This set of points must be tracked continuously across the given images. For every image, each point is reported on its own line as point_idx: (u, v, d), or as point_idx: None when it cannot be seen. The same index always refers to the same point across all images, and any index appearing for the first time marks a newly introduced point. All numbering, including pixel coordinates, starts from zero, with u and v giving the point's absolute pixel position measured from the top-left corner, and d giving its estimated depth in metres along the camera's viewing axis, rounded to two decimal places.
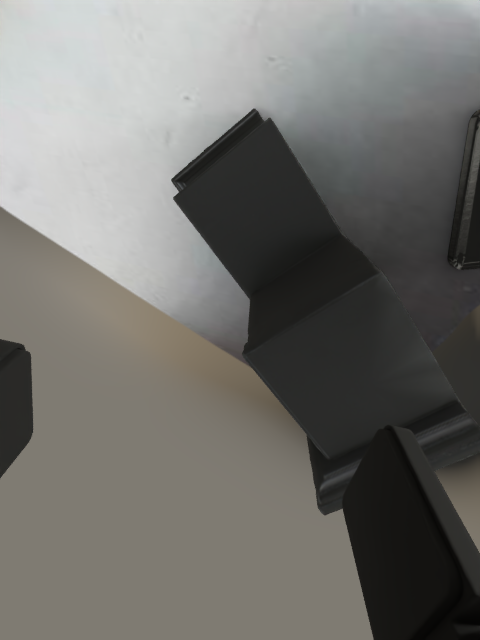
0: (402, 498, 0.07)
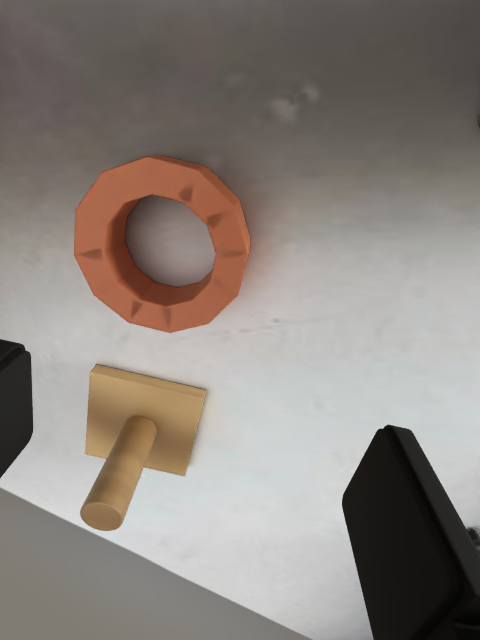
0: (402, 498, 0.07)
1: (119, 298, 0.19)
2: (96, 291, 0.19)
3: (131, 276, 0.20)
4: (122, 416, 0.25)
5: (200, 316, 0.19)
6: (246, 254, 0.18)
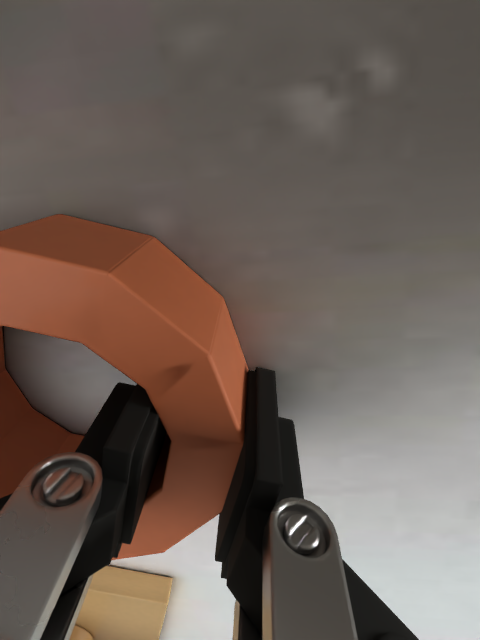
0: None
1: None
2: None
3: (12, 446, 0.10)
4: None
5: (147, 542, 0.09)
6: (240, 444, 0.08)
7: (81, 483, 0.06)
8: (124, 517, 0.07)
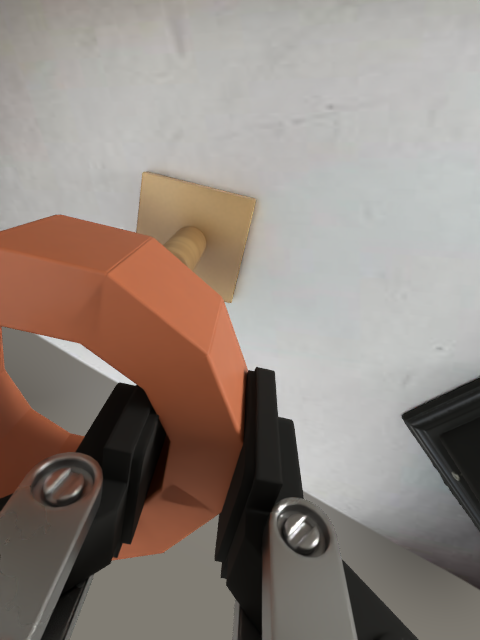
0: None
1: None
2: None
3: (11, 446, 0.10)
4: (172, 228, 0.25)
5: (146, 542, 0.09)
6: (239, 445, 0.08)
7: (82, 483, 0.06)
8: (124, 517, 0.07)
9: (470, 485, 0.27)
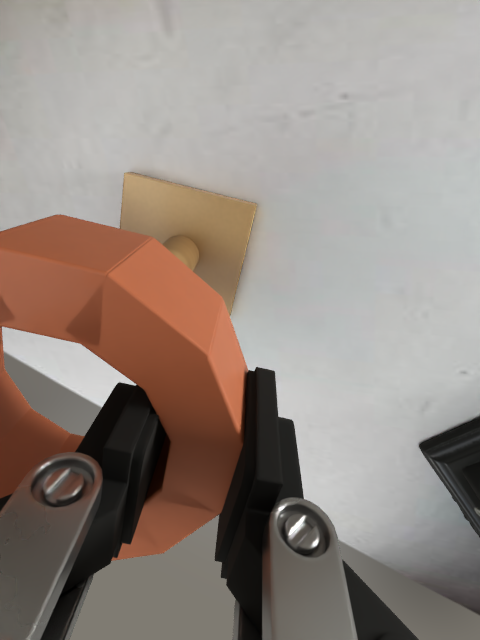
0: None
1: None
2: None
3: (11, 446, 0.10)
4: (159, 238, 0.22)
5: (146, 542, 0.09)
6: (239, 445, 0.08)
7: (82, 483, 0.06)
8: (124, 517, 0.07)
9: None
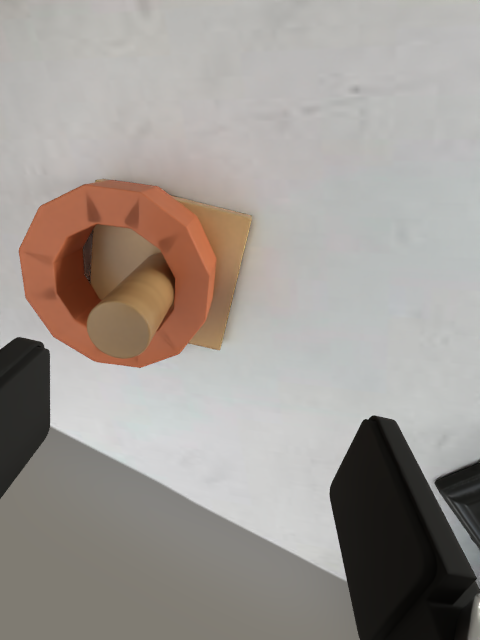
0: (383, 485, 0.08)
1: (80, 337, 0.18)
2: (55, 332, 0.18)
3: None
4: (139, 255, 0.19)
5: (169, 347, 0.18)
6: (207, 276, 0.16)
7: None
8: None
9: None
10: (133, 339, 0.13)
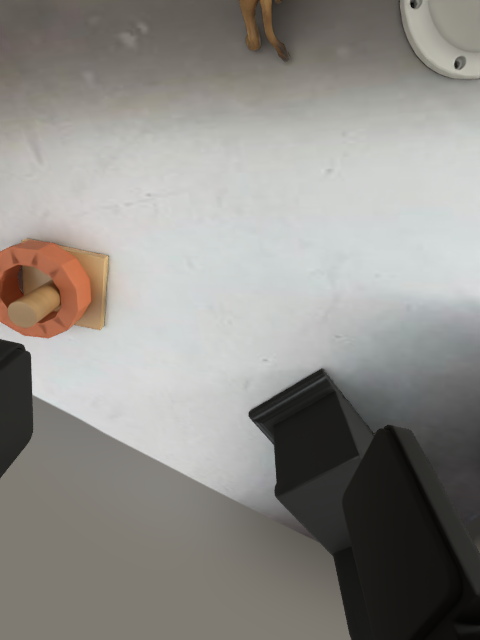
0: (402, 498, 0.07)
1: None
2: (1, 320, 0.34)
3: None
4: (48, 278, 0.35)
5: (62, 326, 0.34)
6: (75, 289, 0.32)
7: None
8: None
9: (275, 461, 0.36)
10: (28, 318, 0.29)
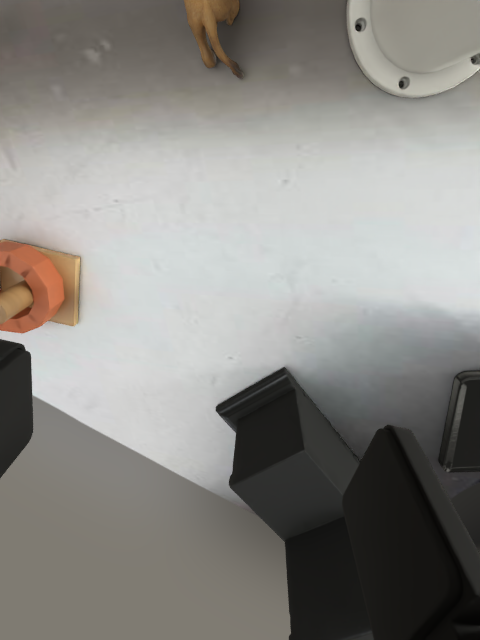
0: (402, 498, 0.07)
1: None
2: None
3: None
4: None
5: (35, 322, 0.36)
6: (46, 288, 0.34)
7: None
8: None
9: None
10: None
